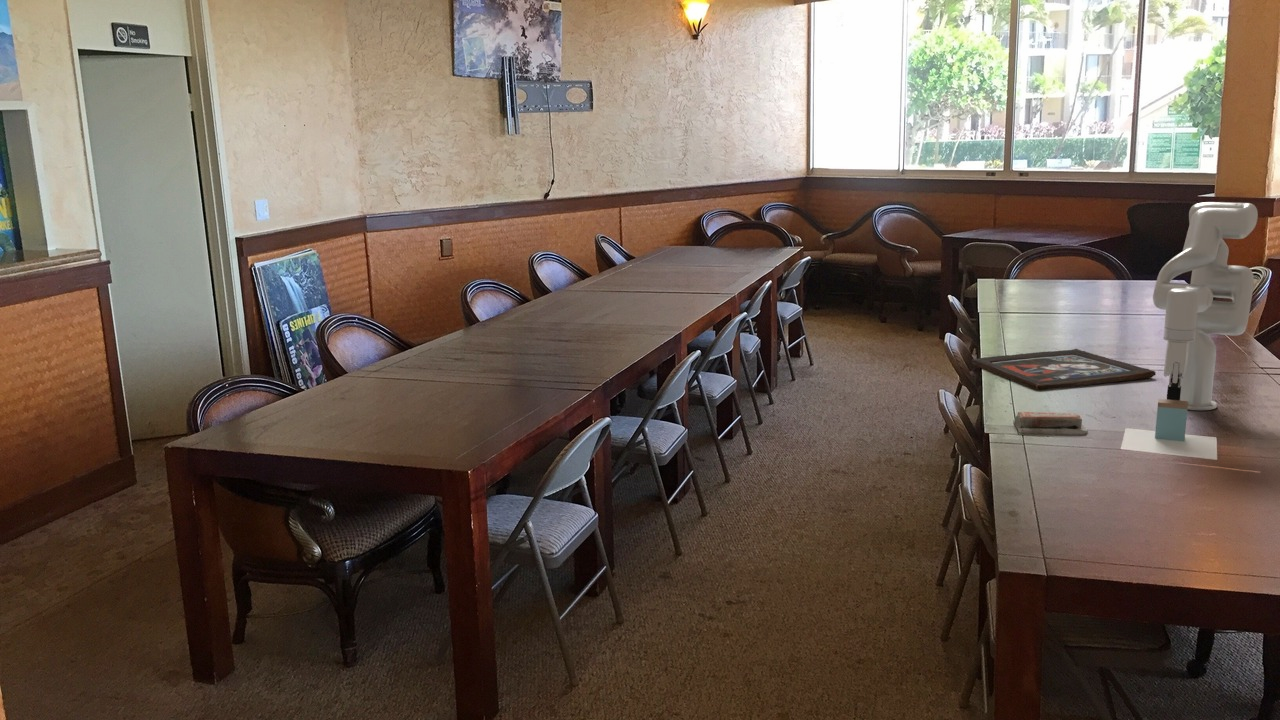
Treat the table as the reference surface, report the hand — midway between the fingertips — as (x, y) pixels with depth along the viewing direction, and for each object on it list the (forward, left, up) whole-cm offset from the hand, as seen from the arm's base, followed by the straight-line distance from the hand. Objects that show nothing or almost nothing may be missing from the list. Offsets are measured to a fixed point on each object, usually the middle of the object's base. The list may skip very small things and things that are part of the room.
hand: (1173, 400), depth 280 cm
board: (+13, 0, -9) cm, 16 cm away
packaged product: (+10, -30, -9) cm, 33 cm away
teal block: (+8, 0, -8) cm, 12 cm away
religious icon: (-60, -35, -10) cm, 70 cm away
